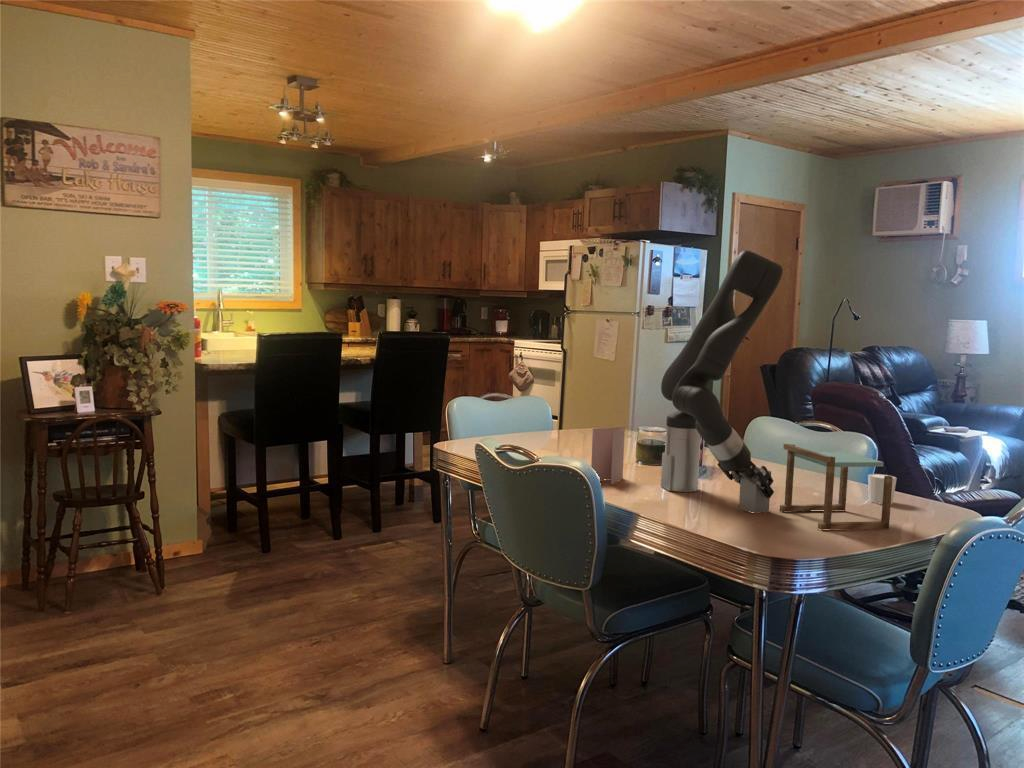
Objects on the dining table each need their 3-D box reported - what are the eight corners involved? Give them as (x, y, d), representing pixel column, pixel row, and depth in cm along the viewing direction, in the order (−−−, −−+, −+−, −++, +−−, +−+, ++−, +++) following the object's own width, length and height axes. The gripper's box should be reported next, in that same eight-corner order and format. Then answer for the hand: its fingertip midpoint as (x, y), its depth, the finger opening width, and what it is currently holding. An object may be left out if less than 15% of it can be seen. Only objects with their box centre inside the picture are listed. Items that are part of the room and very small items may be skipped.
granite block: (754, 513, 186) (756, 472, 185) (738, 509, 190) (741, 468, 189) (768, 511, 189) (771, 471, 188) (753, 507, 193) (755, 467, 192)
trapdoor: (827, 466, 173) (827, 462, 173) (793, 455, 187) (793, 451, 187) (883, 466, 176) (883, 462, 176) (846, 455, 189) (846, 451, 189)
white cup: (900, 505, 200) (902, 478, 199) (877, 505, 198) (879, 478, 198) (883, 499, 206) (884, 473, 206) (860, 499, 205) (862, 473, 205)
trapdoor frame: (820, 530, 172) (825, 456, 171) (779, 510, 189) (783, 443, 188) (888, 529, 175) (894, 456, 174) (842, 509, 192) (846, 443, 191)
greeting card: (620, 477, 224) (622, 426, 223) (637, 482, 218) (639, 430, 217) (588, 481, 218) (590, 428, 217) (605, 486, 212) (607, 432, 211)
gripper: (759, 440, 178) (791, 486, 185) (714, 431, 190) (745, 475, 197) (742, 464, 176) (775, 510, 183) (697, 454, 188) (729, 497, 195)
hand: (759, 492), depth 190 cm, fingers open, 6 cm apart
